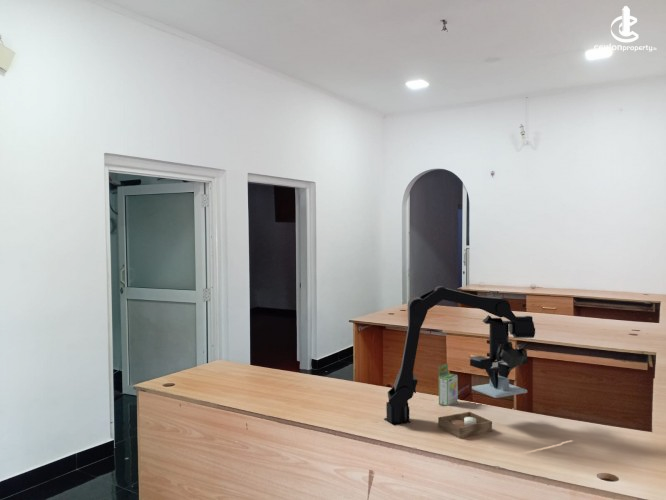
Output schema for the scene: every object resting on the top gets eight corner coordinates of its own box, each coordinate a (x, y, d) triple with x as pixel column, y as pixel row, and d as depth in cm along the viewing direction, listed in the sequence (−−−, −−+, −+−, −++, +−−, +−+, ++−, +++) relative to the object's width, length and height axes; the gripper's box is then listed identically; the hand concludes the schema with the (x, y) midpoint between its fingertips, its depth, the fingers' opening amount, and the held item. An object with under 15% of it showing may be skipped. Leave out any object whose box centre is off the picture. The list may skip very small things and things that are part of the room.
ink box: (448, 407, 178) (448, 368, 178) (438, 405, 180) (438, 366, 180) (458, 402, 183) (457, 364, 183) (447, 400, 186) (447, 363, 186)
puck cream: (469, 430, 155) (469, 421, 155) (461, 426, 158) (461, 418, 158) (478, 428, 156) (478, 419, 156) (471, 424, 159) (471, 416, 159)
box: (459, 440, 148) (459, 427, 148) (438, 428, 157) (438, 417, 157) (491, 433, 154) (491, 421, 153) (469, 422, 163) (469, 411, 163)
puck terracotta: (457, 433, 152) (457, 424, 152) (449, 429, 155) (449, 421, 155) (466, 431, 154) (466, 422, 154) (459, 427, 157) (459, 419, 157)
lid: (495, 397, 154) (495, 383, 154) (471, 388, 164) (471, 375, 164) (527, 392, 160) (527, 378, 159) (502, 384, 169) (502, 371, 169)
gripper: (494, 345, 150) (494, 398, 150) (541, 339, 158) (541, 390, 158) (468, 338, 160) (468, 388, 161) (514, 333, 168) (514, 381, 168)
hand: (499, 387), depth 162 cm, fingers closed on lid, 2 cm apart
